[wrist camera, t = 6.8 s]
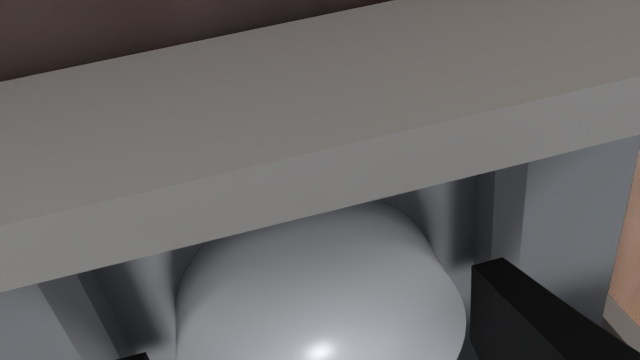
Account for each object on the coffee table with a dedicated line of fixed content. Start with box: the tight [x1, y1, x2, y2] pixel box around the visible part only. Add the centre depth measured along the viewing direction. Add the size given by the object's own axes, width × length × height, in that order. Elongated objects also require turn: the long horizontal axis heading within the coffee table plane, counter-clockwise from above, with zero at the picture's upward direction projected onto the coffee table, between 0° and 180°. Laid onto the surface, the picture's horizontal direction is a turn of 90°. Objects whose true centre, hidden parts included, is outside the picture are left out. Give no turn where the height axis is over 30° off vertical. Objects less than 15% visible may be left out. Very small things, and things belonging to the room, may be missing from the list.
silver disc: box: [176, 199, 466, 360], centre depth 10 cm, size 5×5×2 cm
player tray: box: [0, 0, 640, 360], centre depth 11 cm, size 16×12×4 cm
